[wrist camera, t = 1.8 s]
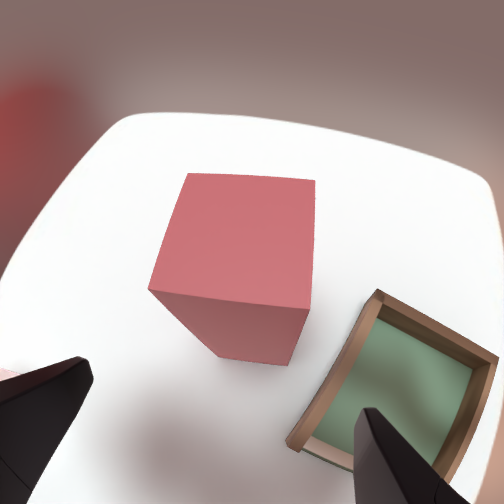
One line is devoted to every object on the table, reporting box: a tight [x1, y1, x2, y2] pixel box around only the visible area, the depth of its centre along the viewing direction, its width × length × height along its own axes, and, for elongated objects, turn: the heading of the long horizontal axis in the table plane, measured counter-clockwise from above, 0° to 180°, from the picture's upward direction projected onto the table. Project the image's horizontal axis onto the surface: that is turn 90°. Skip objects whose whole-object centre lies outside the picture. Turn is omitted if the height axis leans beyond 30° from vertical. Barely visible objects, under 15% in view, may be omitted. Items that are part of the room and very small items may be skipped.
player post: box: [148, 173, 315, 366], centre depth 15 cm, size 5×5×13 cm
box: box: [285, 289, 499, 484], centre depth 15 cm, size 12×13×3 cm
